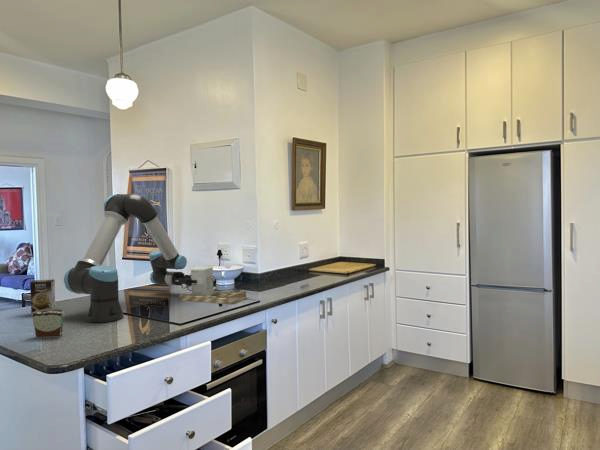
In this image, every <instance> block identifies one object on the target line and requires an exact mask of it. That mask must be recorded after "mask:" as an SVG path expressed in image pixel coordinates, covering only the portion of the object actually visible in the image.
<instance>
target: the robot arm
mask: <svg viewBox="0 0 600 450" xmlns="http://www.w3.org/2000/svg"><path fill="white" fill-rule="evenodd" d="M103 207H104V209H103V211H104V213H103V216H104V217H105V218H104V220H103V221H102V223H101V225H100V227H99V229H98V231H97V232H96V234H95V236H94V238H93V240H92V242H91V244H90V245H89V247H88V249H87V251H86V253H85V255H84V257H83V259H80V260H77V262H76V264H75V266H74V267H71V268H69V269H67V271H66V272H65V274H64V277H63V283H64V286H65V289H66V290H68V292H70V293H74V294H78V295H80V294H81V295H89V297H90V302H89V303H90V304H89V308H88V310H87V314H86V322H88V323H92V324H94V323H97V324H98V323H99V324H100V323H110V322H113V321H119V320H121V319H123V318H124V310H123V308H122V306H121V302H120V299H119V296H120V295H119V274H118V270H117V268H116V267H114V266H111V265H110V266H109V265H103V264H104V261H105V260H106V258H107V255H108V253H109V252H110V250H111V247H112V246H113V244H114V241H115V240H116V238H117V237H118V234H119V232H120V230H121V228H122V226H124V225H126V224H127V223H128V221H129V219H130V218H136V219H137V220H138V221H139V223H140V224H142V225H144V227H145V229H146V230H147V232H148V234H149V235H150V236H151V238H152V240H153V241H154V243H155V245H156V247H157V248H158V249H157V250H153V251H152V252H150V253H149V256H148V257H149V262H150V265H151V266H150V267H151V268H152V272H151V273H150V277H149V281H150V282H151V283H152V284H154V285H164V286H165V285H166V286H167V285H169V286H171V287H173V286H182V285H189V286H191V285H192V284H203V279H191V274H185V273H184V272H182V271H174V270H183V269H185V268H186V266H187V264H188V261H187V258H186V256H184V255H182V254H181V255H180V254H179V252H178V250H177V249H176V247H175V245H174V244H173V242H172V240H171V238H170V236H169V235H168V233H167V232H166V229H165V228H164V226H163V224H162V222H161V221H160V218H159V217H158V212H157V210H156V208H155V207H154V205H153V204H152V203H151V202H150V200H148V199H147V198H146V197H144V196H143V195H142V194H138V193H126V194H124V193H116V194H112V195H110V196H108V197H107V198H106V199H105V201H104V204H103ZM168 270H169V271H168ZM170 270H171V271H170ZM172 270H173V271H172ZM215 279H216V277H215V275H213V282H216V280H215Z"/></svg>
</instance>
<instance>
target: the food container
mask: <svg viewBox="0 0 600 450" xmlns="http://www.w3.org/2000/svg"><path fill="white" fill-rule="evenodd" d="M30 315H31V316H30V318H32V322H33V327H34V335H35V338H36V339H38V338H40V339H41V338H61V337H62V336H63V322H64V317H65V316H66V314H65V311H64V308H55V309H44V310H39V311H35V312H32V314H30Z"/></svg>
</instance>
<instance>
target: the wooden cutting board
mask: <svg viewBox="0 0 600 450" xmlns="http://www.w3.org/2000/svg"><path fill="white" fill-rule="evenodd" d="M245 299H247V290H240V291H238V292H235V290H234V289H226V290H223V291H215V290H213V294H212V295H210V296H207V297H205V296H192V294H191V295H190V294H189V295H188V294H180V295H179V301H185V302H186V301H188V302H198V303H210V304H212V303H213V304H222V305H233V304H235V303H238V302H241V301H243V300H245ZM232 303H233V304H232Z"/></svg>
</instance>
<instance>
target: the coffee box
mask: <svg viewBox="0 0 600 450" xmlns="http://www.w3.org/2000/svg"><path fill="white" fill-rule="evenodd" d="M55 285H56V284H55V279H37V280H36V279H35V280H32V281H30V282H29V287H30V313H31V314H32V312H35V311H39V310H44V309H56V287H55ZM31 314H30V315H31Z"/></svg>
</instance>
